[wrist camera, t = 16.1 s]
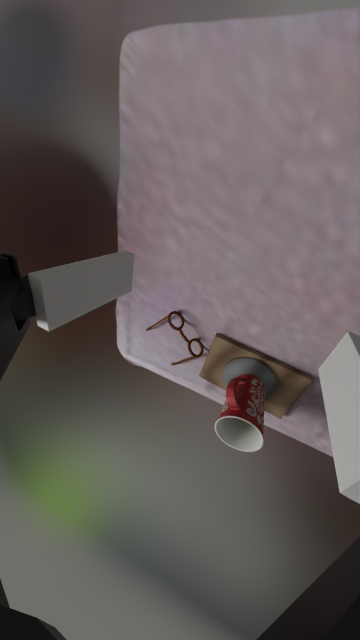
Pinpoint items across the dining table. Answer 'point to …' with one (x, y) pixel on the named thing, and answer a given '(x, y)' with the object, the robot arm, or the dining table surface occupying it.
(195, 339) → the glasses
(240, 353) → the board
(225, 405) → the mug
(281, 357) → the dining table surface
